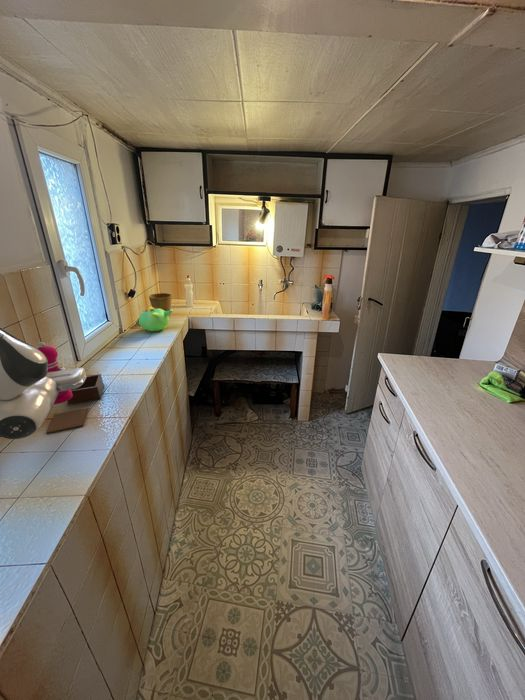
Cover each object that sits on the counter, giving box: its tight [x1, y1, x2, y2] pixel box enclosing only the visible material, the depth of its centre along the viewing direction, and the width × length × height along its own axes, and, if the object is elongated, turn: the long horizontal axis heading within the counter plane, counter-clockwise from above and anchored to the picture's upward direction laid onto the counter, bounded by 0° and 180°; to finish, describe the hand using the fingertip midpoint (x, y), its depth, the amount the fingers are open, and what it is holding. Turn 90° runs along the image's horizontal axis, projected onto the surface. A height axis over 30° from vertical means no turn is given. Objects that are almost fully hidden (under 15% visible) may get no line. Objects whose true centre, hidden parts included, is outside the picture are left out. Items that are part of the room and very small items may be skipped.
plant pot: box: [148, 292, 173, 318], centre depth 196 cm, size 15×15×16 cm
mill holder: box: [66, 373, 105, 406], centre depth 109 cm, size 11×11×6 cm
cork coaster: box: [46, 407, 89, 435], centre depth 95 cm, size 10×10×1 cm
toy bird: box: [138, 305, 174, 332], centre depth 173 cm, size 18×17×15 cm
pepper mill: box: [36, 341, 73, 405], centre depth 87 cm, size 7×7×20 cm
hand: (52, 370), depth 88 cm, fingers closed on pepper mill, 4 cm apart
